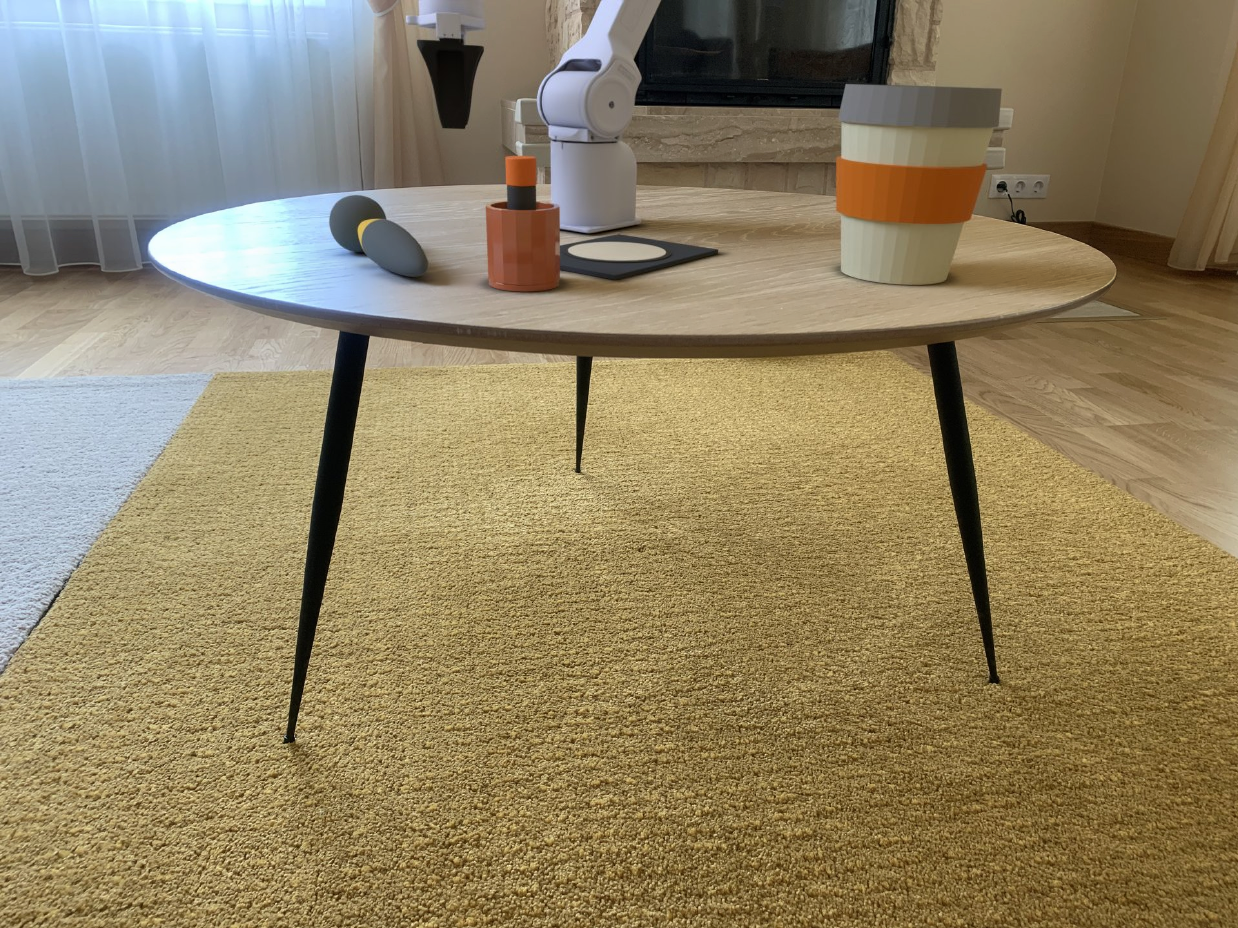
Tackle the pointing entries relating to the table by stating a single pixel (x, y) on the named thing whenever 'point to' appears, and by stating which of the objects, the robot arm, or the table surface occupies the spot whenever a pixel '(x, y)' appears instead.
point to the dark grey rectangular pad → (626, 255)
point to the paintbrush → (376, 236)
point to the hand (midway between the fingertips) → (455, 126)
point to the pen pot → (523, 247)
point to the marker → (521, 182)
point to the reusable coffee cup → (909, 176)
